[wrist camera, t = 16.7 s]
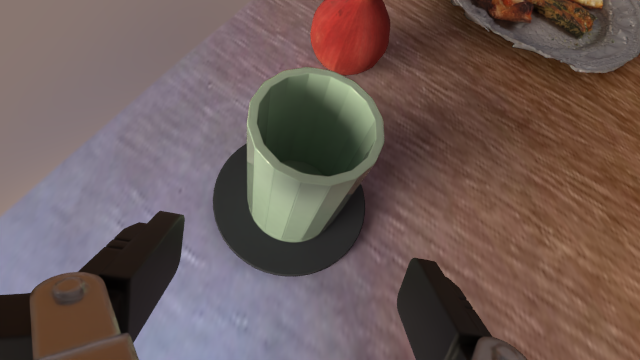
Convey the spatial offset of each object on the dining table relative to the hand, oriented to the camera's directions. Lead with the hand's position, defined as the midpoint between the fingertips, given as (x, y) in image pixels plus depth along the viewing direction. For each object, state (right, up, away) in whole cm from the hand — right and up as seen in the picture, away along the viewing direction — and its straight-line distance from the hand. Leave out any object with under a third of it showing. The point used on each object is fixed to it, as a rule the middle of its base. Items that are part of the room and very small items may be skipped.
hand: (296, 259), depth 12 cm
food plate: (+24, +24, +27) cm, 43 cm away
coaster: (-1, +1, +11) cm, 11 cm away
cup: (-1, +1, +10) cm, 11 cm away
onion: (+2, +12, +17) cm, 21 cm away
